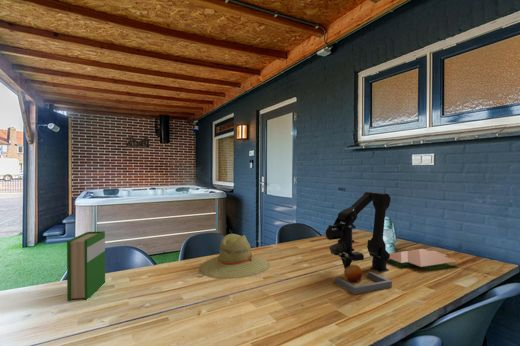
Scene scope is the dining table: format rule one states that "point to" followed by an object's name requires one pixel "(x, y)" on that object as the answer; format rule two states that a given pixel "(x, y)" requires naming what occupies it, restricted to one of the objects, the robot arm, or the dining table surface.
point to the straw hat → (234, 260)
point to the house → (421, 258)
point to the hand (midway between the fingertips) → (346, 269)
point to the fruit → (353, 273)
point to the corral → (378, 285)
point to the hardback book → (85, 264)
